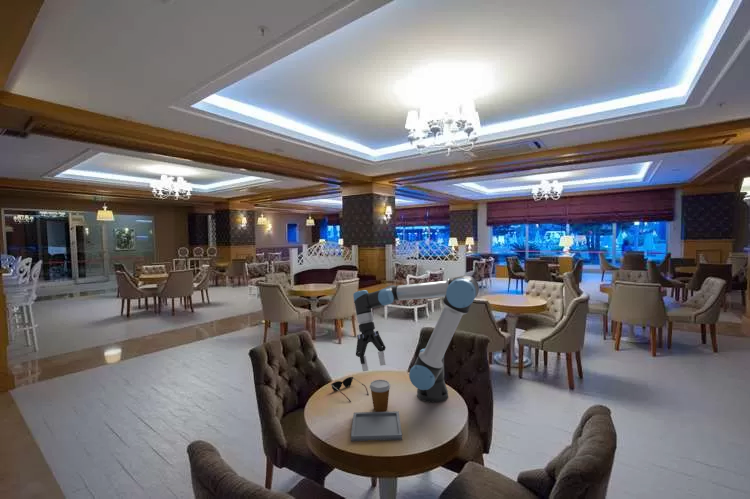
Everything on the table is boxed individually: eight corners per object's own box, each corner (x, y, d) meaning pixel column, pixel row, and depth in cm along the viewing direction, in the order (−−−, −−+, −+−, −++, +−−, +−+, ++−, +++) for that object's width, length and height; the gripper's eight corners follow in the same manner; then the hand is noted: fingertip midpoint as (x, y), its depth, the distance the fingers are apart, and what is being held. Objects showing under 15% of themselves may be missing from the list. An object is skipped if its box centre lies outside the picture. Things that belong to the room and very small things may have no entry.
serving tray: (398, 415, 157) (398, 411, 157) (402, 439, 138) (402, 434, 138) (353, 416, 157) (353, 412, 156) (351, 441, 138) (351, 436, 138)
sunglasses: (352, 384, 191) (352, 375, 190) (371, 397, 178) (371, 387, 178) (330, 392, 182) (330, 383, 181) (348, 406, 170) (348, 396, 169)
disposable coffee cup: (389, 415, 157) (388, 388, 157) (368, 413, 159) (367, 387, 159) (392, 404, 167) (391, 379, 166) (372, 403, 169) (371, 378, 168)
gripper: (375, 321, 183) (383, 363, 178) (342, 326, 163) (351, 374, 158) (386, 318, 178) (395, 362, 173) (355, 323, 158) (364, 372, 154)
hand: (374, 368), depth 166 cm, fingers open, 13 cm apart
